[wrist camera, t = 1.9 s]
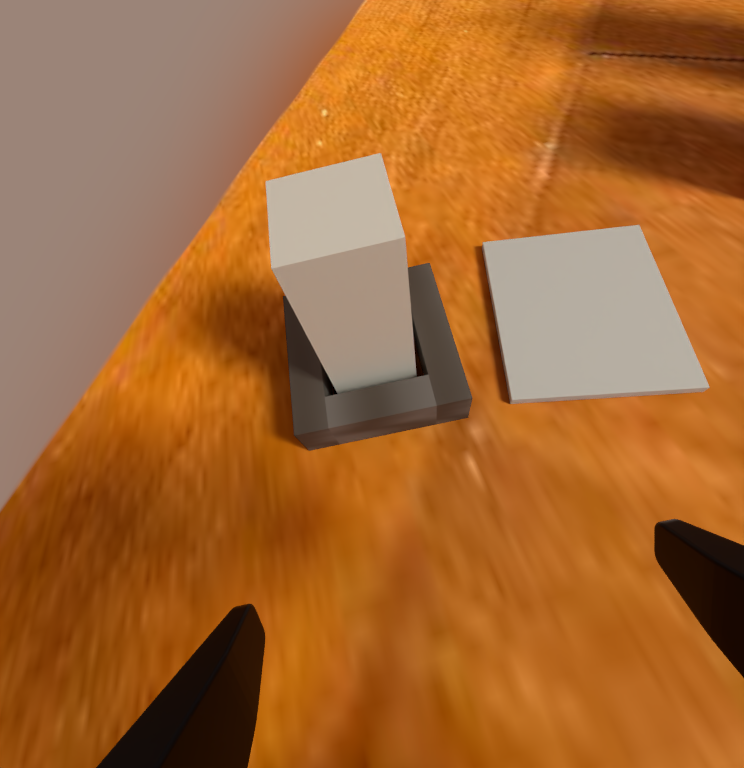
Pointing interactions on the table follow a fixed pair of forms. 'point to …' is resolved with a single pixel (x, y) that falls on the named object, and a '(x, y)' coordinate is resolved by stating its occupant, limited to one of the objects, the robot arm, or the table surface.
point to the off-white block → (345, 269)
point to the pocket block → (387, 401)
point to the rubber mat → (587, 318)
